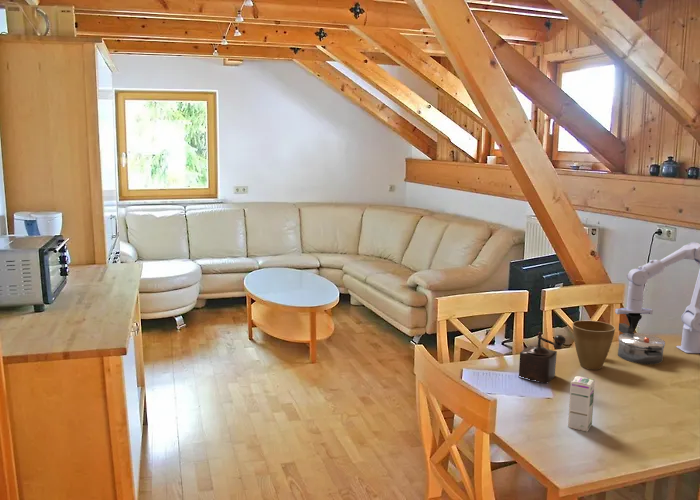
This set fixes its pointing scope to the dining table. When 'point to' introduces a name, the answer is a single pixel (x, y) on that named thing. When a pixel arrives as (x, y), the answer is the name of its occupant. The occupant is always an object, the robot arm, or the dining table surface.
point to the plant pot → (592, 342)
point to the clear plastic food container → (639, 354)
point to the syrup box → (581, 403)
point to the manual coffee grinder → (540, 360)
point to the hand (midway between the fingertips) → (632, 331)
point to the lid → (639, 339)
